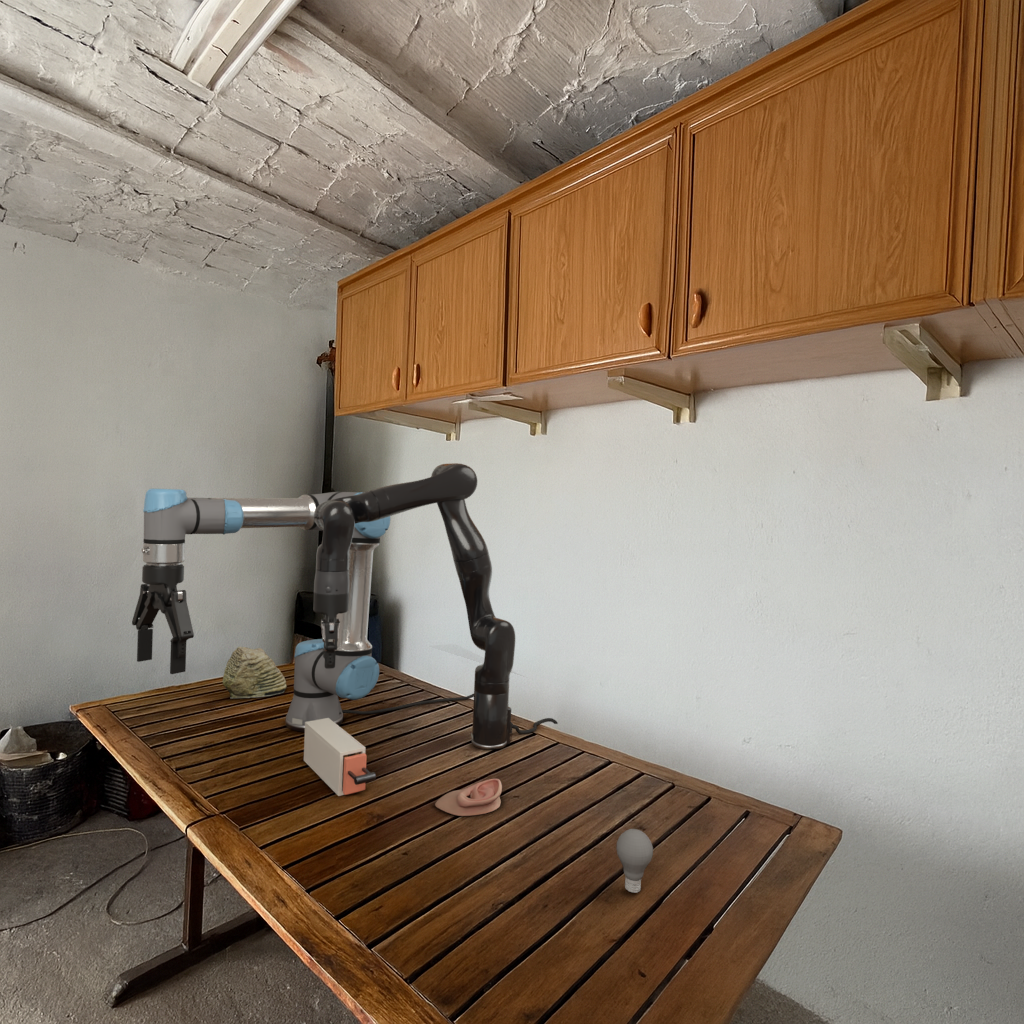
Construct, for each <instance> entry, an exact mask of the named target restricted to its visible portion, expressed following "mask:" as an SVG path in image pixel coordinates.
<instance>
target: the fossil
mask: <svg viewBox="0 0 1024 1024" xmlns="http://www.w3.org/2000/svg"><path fill="white" fill-rule="evenodd" d="M222 676H223V677H222V685H223V687H224V688H225V690H226V691H228V693H229V698H230V699H250V698H264V697H271V696H275V695H281V694H284V693H285V691H286V689H287V687H288V686H287V680H286V678H285V676H284V674H283V673H282V672H281V669H279V668H278V667H277V665H276V663H275V662H274V660H273V659H272V658H271V657H270V656H269V655H268V654H267V653H266V652H265V650H264V649H263V648H260V647H258V648H251V647H247V646H246V647H245V646H238V647H237V648H236V649H235V650H233V651H232V653H231V656H230V657H229V659H228V660H227V663H226V666H225V668H224V671H223V675H222Z"/></svg>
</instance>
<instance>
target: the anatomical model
mask: <svg viewBox="0 0 1024 1024" xmlns="http://www.w3.org/2000/svg"><path fill="white" fill-rule="evenodd" d="M502 791H503V784H502V780H500V779H499V778H491V779H490V778H489V779H485V780H483V781H480V782H477V783H474V784H471V785H470V786H467V787H465V788H463V789H457V790H452V791H449V792H447V793H446V794H443V795H442V796H441V797H440V798H438V799H436V801H435V802H434V807H436V808H437V809H439V810H441V811H443V812H445V813H447V814H451V815H453V816H458V817H469V816H479V815H484V814H487V813H491V812H494V811H496V810H497V809H499V808H500V807H501V803H502V801H501V800H502V799H501V797H500V796H501V794H502Z"/></svg>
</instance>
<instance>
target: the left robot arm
mask: <svg viewBox="0 0 1024 1024" xmlns="http://www.w3.org/2000/svg"><path fill="white" fill-rule="evenodd" d="M363 492H364V491H361V492H360V491H359V492H358V491H357V492H356V491H353V492H352V491H332V492H331V491H329V492H324V493H315V494H314V493H313V494H301V495H300V496H299V497H188V495H187V492H186V490H184V489H179V488H178V489H177V488H149V489H148V490H146V492H145V494H144V495H145V496H144V502H143V509H142V511H143V541H142V542H143V545H142V547H143V548H141V553H142V562H143V563H145V564H143V566H142V567H141V569H142V571H141V572H142V573H141V582H142V583H141V584H140V589H139V596H138V599H137V603H136V606H135V610H134V613H133V617H132V619H131V625H132V626H135V629H136V630H137V645H136V646H137V648H136V662H137V663H141V662H146V661H152V660H153V638H154V637H153V636H154V624H153V623H154V621H155V620H156V617H157V615H158V613H159V612H161V614H164V616H165V619H166V622H167V625H168V627H169V630H170V633H171V636H172V638H171V639H170V640H169V642H170V655H169V657H170V661H169V674H170V675H175V674H181V673H185V672H186V669H187V668H186V666H187V665H186V664H187V641H189V639H193V638H195V637H194V636H195V633H194V630H193V624H192V621H191V614H190V611H189V606H188V602H187V591H186V589H182V590H180V589H179V590H178V584H181V583H183V582H184V580H185V565H184V564H182V563H184V562H185V559H186V558H185V555H186V554H185V553H186V535H226V534H237V533H238V532H239V531H240V530H242V529H261V528H263V529H265V528H295V527H296V528H300V529H301V530H303V531H318V532H319V531H320V532H323V530H322V529H321V528H319V527H318V526H317V524H316V523H315V520H314V513H315V510H316V508H317V507H318V506H319V505H320V504H321V503H323V502H325V501H328V500H332V499H336V498H341V497H347V496H353V495H357V494H361V493H363ZM390 525H391V516H389V517H386V518H383V519H379V520H376V521H371V522H360V523H356V524H355V527H354V533H353V537H352V542H351V546H350V549H349V606H348V611H347V612H345V613H339V614H337V619H339V621H340V629H339V640H338V641H337V646H338V648H337V650H336V658H335V668H329V669H326V668H325V666H324V665H325V659H324V657H323V650H324V642H323V641H322V638H317V639H308V640H304V641H300V642H299V643H297V645H296V646H295V650H294V655H293V657H294V672H293V673H294V674H293V695H292V696H293V697H292V699H291V702H290V704H289V708H288V711H287V713H286V715H285V726H286V728H287V729H289V730H291V731H294V732H295V731H296V732H301V733H305V722H308V721H314V720H319V719H325V718H329V719H331V720H332V721H333V722H334V723H336V724H337V725H338V726H339V727H340V725H342V723H343V722H344V714H353V715H374V714H380V713H386V712H390V711H395V710H401V709H404V708H410V707H414V706H420V705H427V704H434V703H443V702H452V701H453V702H454V701H464V700H470V699H472V698H474V693H472V694H469V695H467V696H459V697H447V698H446V697H445V698H437V699H427V700H421V701H416V702H411V703H405V704H402V705H397V706H390V707H387V708H380V709H375V710H352V709H342V706H341V702H340V699H339V698H341V699H347V700H352V701H357V700H360V699H363V698H364V697H366V696H368V694H370V692H371V691H372V690H373V689H374V688H375V687H376V684H377V683H378V680H379V678H380V665H379V662H377V660H376V659H375V658H374V657H373V656H372V653H373V645H372V643H371V642H370V641H369V640H368V630H369V629H368V628H369V614H370V604H371V603H370V601H371V589H372V588H371V587H372V573H373V561H374V560H373V559H374V551H375V549H376V548H377V547H379V546H380V543H381V537H383V536H384V535H385V534H386V532H387V531H388V530H389V528H390Z"/></svg>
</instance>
